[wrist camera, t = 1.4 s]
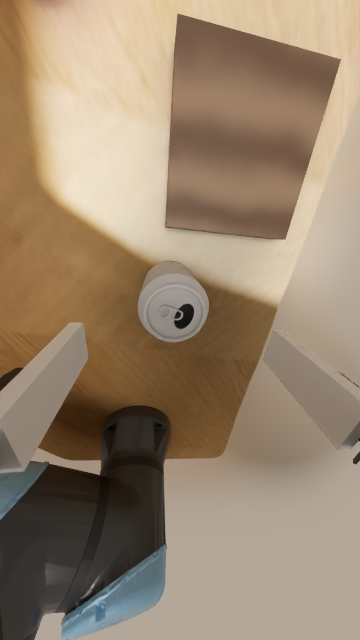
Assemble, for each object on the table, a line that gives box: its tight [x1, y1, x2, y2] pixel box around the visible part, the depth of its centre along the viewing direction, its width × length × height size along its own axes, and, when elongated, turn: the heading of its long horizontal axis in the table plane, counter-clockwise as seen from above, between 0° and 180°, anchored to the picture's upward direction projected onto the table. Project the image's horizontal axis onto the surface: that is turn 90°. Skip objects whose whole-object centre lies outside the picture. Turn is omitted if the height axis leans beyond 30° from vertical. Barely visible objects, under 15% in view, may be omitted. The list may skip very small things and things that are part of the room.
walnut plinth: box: [165, 14, 341, 239], centre depth 21 cm, size 16×16×3 cm
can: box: [137, 261, 209, 343], centre depth 23 cm, size 8×8×12 cm
